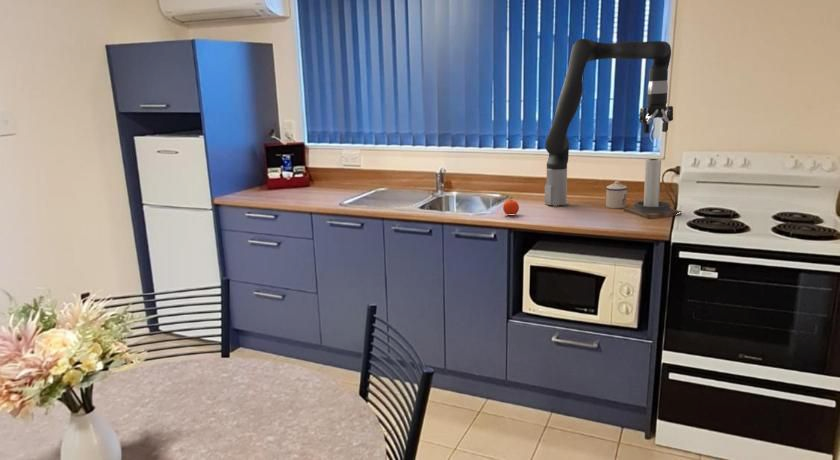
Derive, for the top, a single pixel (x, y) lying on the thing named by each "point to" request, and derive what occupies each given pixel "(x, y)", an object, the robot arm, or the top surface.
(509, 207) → the tomato
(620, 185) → the teacup with lid
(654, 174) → the tall grey block
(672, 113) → the robot arm
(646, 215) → the holder base
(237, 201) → the top surface
